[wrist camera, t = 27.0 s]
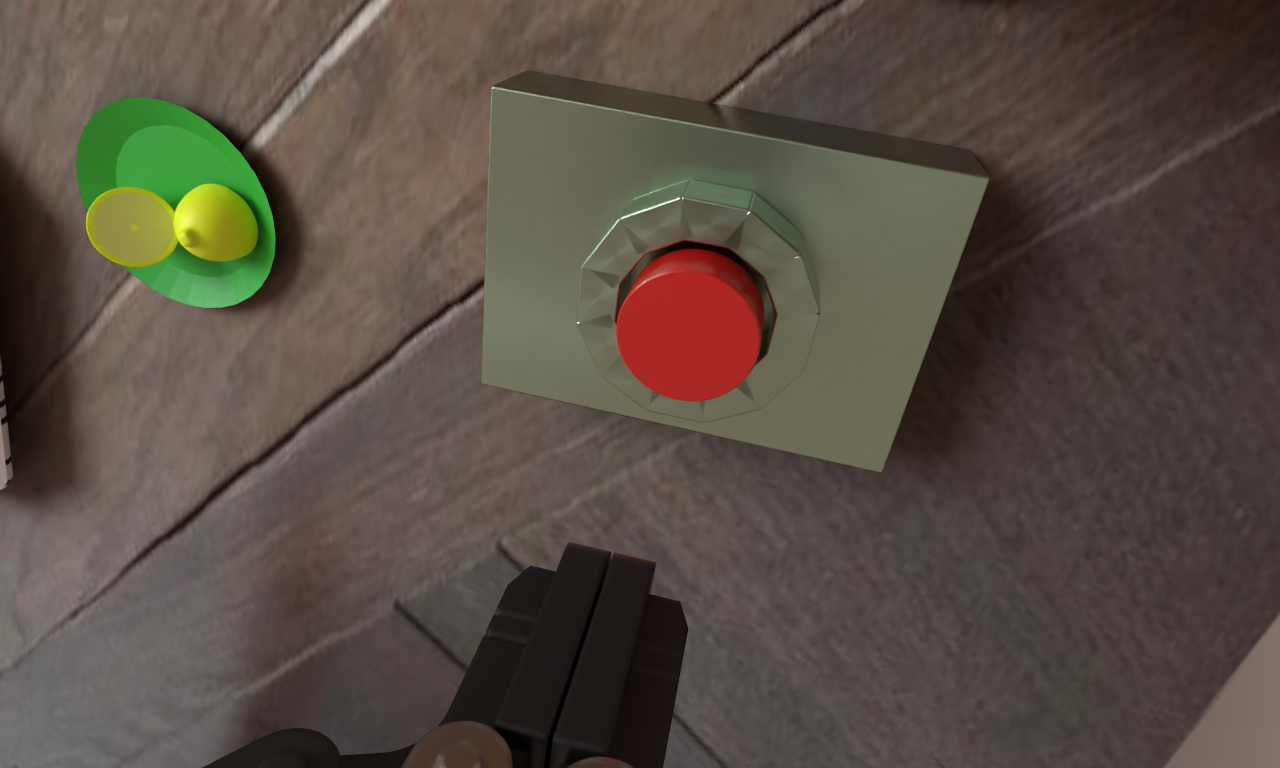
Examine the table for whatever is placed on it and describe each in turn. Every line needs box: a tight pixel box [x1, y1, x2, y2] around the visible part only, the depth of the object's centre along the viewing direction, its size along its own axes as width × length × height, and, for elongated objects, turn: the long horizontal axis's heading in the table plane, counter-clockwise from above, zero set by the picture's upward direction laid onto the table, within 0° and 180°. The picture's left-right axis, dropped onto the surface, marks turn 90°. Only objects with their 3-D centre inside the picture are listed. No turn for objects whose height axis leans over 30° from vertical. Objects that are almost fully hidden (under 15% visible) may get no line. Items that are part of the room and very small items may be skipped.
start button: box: [616, 249, 764, 401], centre depth 22 cm, size 4×4×2 cm
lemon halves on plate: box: [76, 97, 276, 308], centre depth 29 cm, size 8×8×3 cm
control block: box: [481, 70, 990, 472], centre depth 25 cm, size 14×10×5 cm
